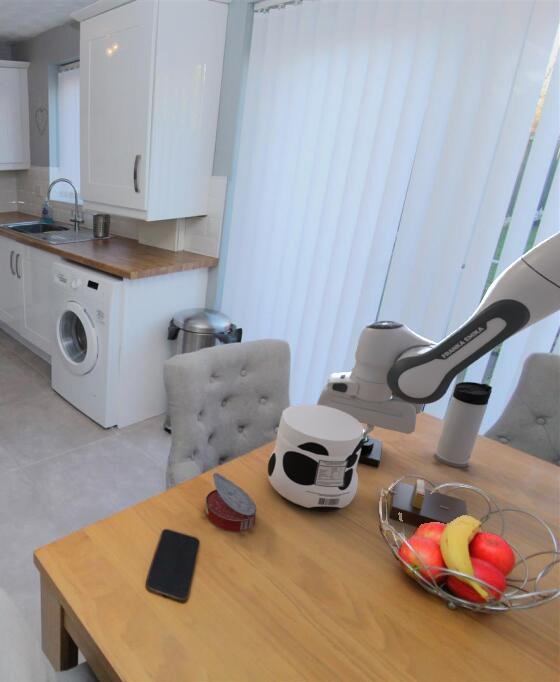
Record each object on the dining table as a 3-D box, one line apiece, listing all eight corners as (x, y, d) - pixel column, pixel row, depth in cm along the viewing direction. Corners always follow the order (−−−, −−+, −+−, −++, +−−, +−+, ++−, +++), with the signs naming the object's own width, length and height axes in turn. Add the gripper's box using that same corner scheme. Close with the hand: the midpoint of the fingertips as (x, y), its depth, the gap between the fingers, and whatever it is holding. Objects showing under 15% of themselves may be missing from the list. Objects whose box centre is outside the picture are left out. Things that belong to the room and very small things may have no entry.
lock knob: (413, 490, 101) (416, 477, 100) (421, 492, 100) (425, 480, 99) (412, 506, 97) (416, 493, 96) (421, 509, 96) (425, 496, 95)
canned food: (217, 515, 107) (230, 472, 107) (259, 537, 99) (273, 491, 99) (187, 514, 100) (201, 469, 100) (230, 538, 92) (245, 489, 92)
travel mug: (475, 467, 112) (501, 391, 105) (447, 468, 112) (471, 392, 105) (455, 452, 118) (478, 379, 111) (427, 453, 118) (449, 380, 111)
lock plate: (461, 512, 99) (465, 499, 98) (464, 542, 91) (469, 529, 90) (385, 489, 106) (388, 477, 105) (382, 516, 99) (385, 503, 98)
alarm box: (380, 448, 121) (384, 434, 119) (377, 468, 113) (381, 454, 112) (335, 436, 126) (338, 423, 125) (329, 455, 119) (332, 441, 117)
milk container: (293, 459, 118) (304, 394, 111) (368, 497, 104) (387, 425, 98) (249, 486, 109) (259, 416, 103) (325, 531, 95) (342, 454, 89)
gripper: (425, 392, 110) (410, 443, 115) (324, 372, 121) (315, 419, 126) (425, 403, 105) (410, 456, 110) (320, 381, 117) (311, 430, 122)
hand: (358, 436), depth 118 cm, fingers closed, pressing on alarm button
